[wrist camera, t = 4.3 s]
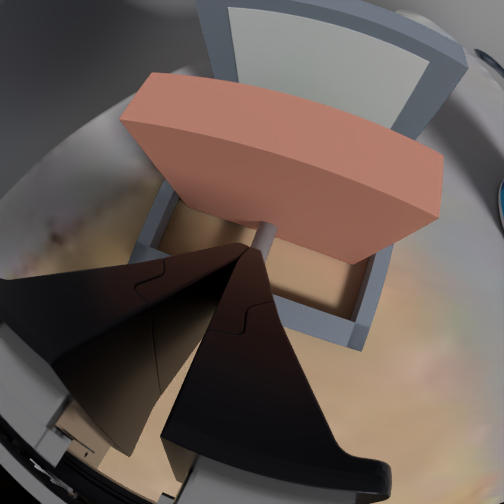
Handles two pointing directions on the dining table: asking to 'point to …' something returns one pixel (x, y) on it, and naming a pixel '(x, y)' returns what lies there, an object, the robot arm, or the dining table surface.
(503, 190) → the beverage bottle
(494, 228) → the dining table surface
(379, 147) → the sliding jaw
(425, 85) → the vise body
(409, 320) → the dining table surface
